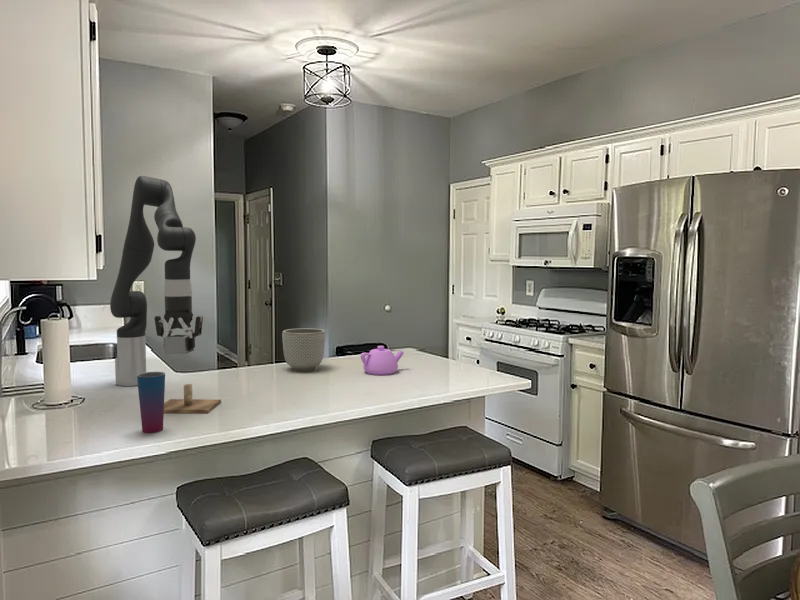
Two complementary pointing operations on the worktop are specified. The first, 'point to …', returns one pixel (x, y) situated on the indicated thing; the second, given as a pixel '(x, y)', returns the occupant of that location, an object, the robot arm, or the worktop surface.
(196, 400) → the post board
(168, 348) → the collar
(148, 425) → the cup
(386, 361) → the teapot
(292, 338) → the planter
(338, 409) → the worktop surface
